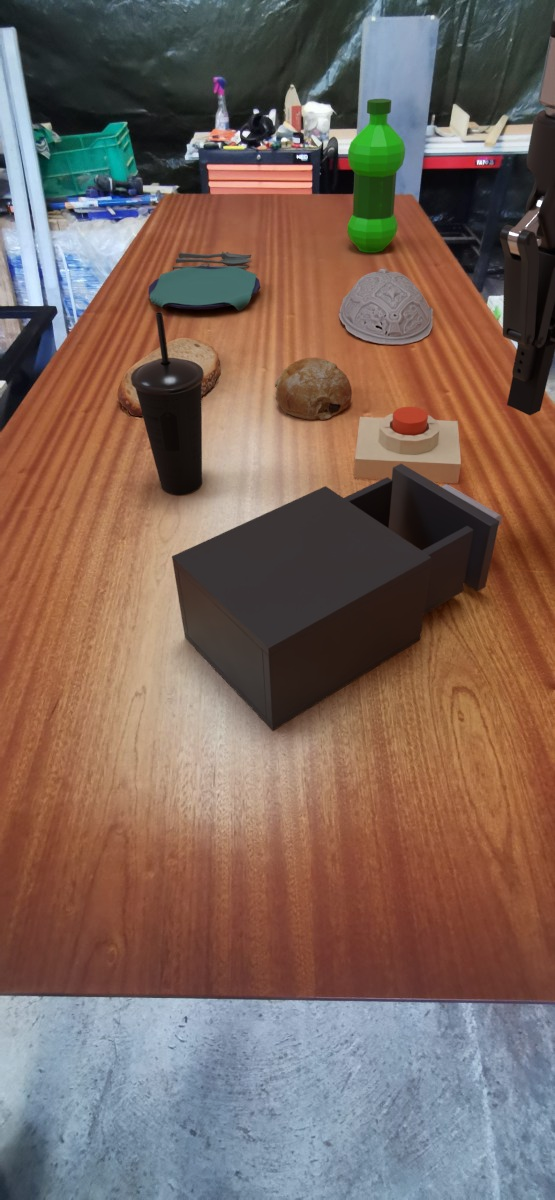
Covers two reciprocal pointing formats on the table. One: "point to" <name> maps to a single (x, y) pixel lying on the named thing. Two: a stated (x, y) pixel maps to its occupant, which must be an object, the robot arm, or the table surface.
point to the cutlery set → (206, 283)
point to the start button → (409, 421)
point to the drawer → (435, 529)
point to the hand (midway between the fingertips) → (523, 407)
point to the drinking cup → (172, 417)
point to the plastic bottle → (375, 179)
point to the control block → (408, 450)
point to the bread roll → (313, 389)
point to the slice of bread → (176, 349)
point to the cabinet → (301, 601)
